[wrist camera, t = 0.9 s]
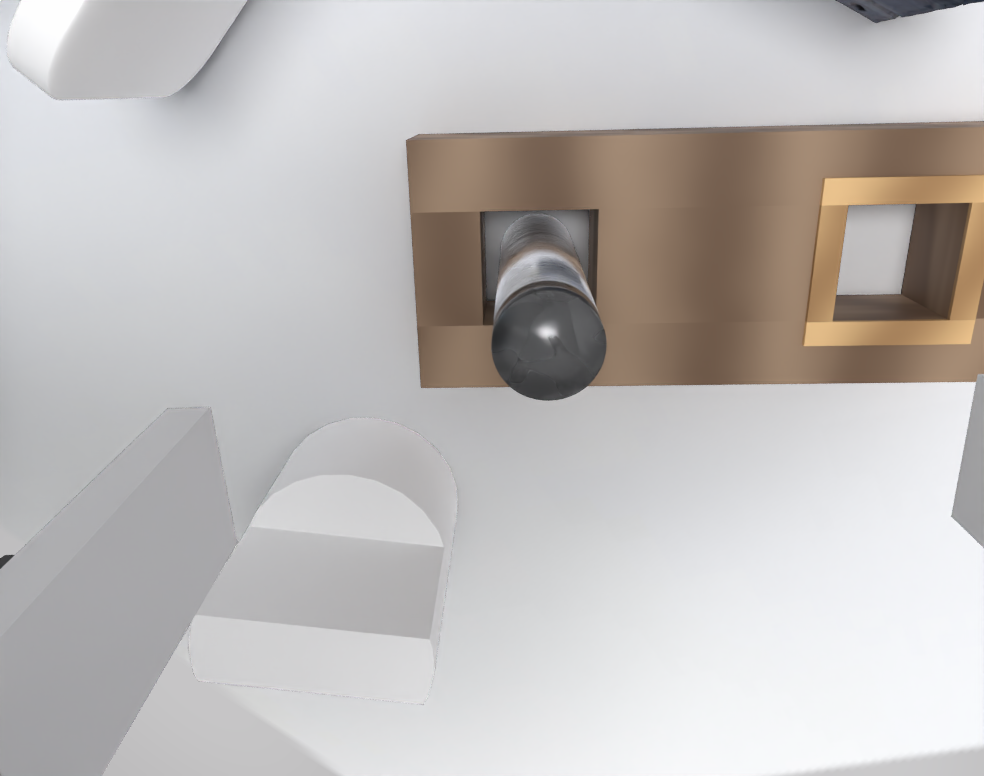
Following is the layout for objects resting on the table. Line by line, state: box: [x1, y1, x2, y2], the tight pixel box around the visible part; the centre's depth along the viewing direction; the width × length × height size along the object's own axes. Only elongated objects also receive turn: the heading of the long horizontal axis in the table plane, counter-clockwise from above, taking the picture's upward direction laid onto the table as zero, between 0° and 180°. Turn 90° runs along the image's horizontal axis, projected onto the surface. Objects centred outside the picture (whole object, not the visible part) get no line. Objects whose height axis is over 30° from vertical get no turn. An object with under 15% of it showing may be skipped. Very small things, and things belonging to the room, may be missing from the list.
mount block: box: [406, 121, 984, 388], centre depth 32 cm, size 24×10×4 cm, turn 91°
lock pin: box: [491, 213, 607, 401], centre depth 28 cm, size 3×3×14 cm
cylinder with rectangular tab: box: [188, 418, 458, 705], centre depth 34 cm, size 9×9×12 cm
